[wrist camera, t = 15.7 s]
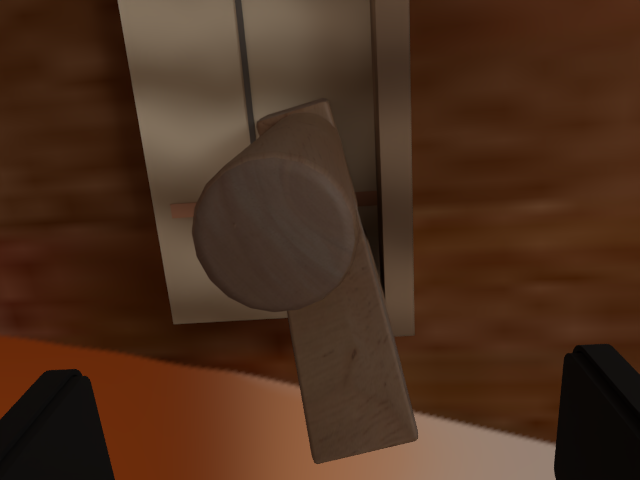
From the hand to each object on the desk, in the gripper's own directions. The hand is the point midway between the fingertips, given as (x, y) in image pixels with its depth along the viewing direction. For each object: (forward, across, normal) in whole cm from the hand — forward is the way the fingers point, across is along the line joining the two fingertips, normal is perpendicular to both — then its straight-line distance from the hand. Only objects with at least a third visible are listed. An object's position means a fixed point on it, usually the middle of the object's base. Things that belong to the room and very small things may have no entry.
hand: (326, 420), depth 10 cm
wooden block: (+20, 0, +1) cm, 20 cm away
